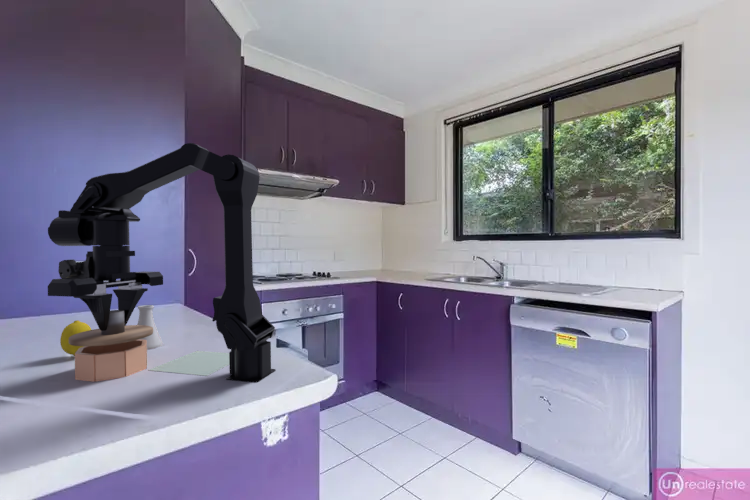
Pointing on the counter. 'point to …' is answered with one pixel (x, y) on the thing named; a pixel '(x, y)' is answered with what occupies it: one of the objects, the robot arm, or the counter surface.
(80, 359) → the bowl
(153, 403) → the counter surface
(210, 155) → the robot arm
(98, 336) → the lid
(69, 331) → the lemon
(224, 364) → the mat
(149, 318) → the flask
